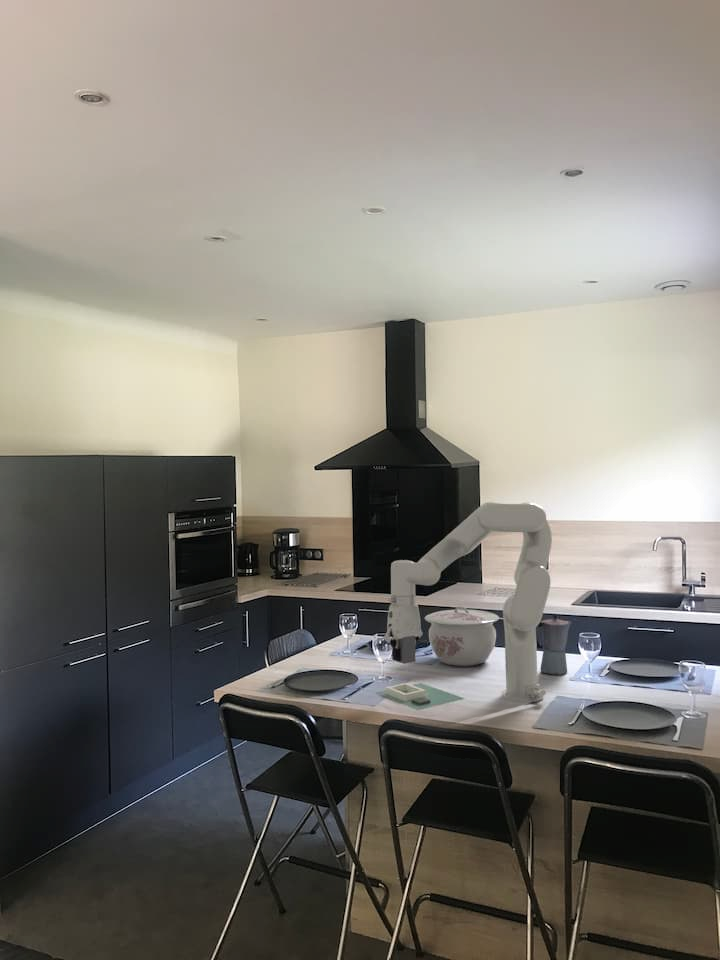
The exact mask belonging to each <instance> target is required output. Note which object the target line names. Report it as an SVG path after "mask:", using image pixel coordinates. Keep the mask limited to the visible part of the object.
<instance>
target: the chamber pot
mask: <svg viewBox="0 0 720 960" xmlns="http://www.w3.org/2000/svg"><path fill="white" fill-rule="evenodd" d="M499 619H500V616H499V615H497V614H496V613H493V612H490V611H484V610H478V609H467V608H466V607H464V606H461V605H459V606H457V607H456V608H454V609H447V610H440V611H435V612H432V613H429V614H426V615H425V617H424V620H425V621H426V622H427V623H430V624H431V625H430V628H429V629H428V638H429V639H428V640H429V643H430V647H431V650H432V651H433V652H434V654H435V657H436V659H438V660H439V661H440V662H441V663H444V664H446V665H449V666H452V667H461V666H462V668H463V667H464V668H465V666H466V667H474V665H475V666H479V665H481V664H483V663H485V662H487V660H488V659H489V658H490V655H491V654H492V652H493V650H494V648H495V646H496V645H495V644H496V640H497V630H496V628H495V627H494V625H493V623H495V622H497V621H499Z"/></svg>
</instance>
